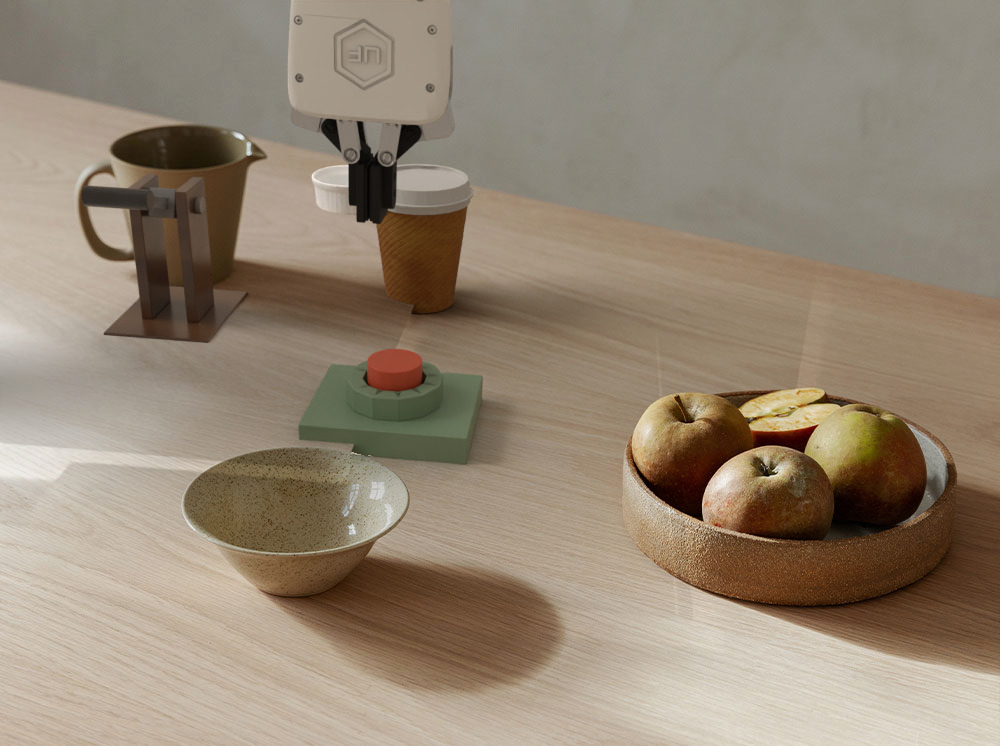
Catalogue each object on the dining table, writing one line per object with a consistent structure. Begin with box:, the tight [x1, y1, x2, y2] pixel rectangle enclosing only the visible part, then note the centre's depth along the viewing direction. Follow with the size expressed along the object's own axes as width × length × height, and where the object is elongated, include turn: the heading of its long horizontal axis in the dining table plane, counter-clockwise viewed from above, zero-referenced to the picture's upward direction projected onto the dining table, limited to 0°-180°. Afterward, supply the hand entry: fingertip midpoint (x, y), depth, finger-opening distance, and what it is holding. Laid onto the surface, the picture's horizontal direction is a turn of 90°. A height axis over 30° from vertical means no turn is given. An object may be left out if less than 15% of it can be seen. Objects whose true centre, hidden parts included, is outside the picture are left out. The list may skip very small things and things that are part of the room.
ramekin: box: [311, 164, 356, 215], centre depth 126 cm, size 9×9×4 cm
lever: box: [80, 184, 178, 220], centre depth 88 cm, size 12×5×2 cm, turn 174°
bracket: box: [103, 173, 248, 344], centre depth 95 cm, size 11×9×13 cm
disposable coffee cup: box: [375, 163, 474, 314], centre depth 102 cm, size 10×10×12 cm
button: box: [366, 348, 423, 392], centre depth 81 cm, size 4×4×2 cm
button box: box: [297, 360, 484, 465], centre depth 82 cm, size 12×10×4 cm
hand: (372, 216), depth 75 cm, fingers closed
